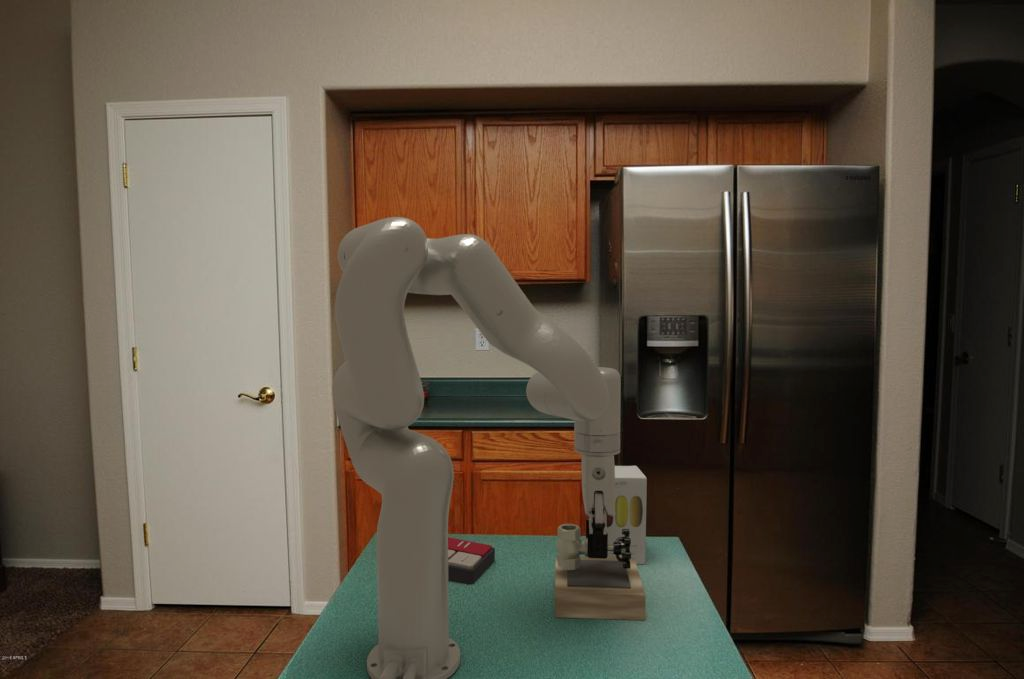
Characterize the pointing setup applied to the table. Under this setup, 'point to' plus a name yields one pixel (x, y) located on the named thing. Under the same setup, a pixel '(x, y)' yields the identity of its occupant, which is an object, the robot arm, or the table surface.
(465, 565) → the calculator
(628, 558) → the valve
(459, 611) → the table surface
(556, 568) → the tapered tan tray
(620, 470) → the supplement box
